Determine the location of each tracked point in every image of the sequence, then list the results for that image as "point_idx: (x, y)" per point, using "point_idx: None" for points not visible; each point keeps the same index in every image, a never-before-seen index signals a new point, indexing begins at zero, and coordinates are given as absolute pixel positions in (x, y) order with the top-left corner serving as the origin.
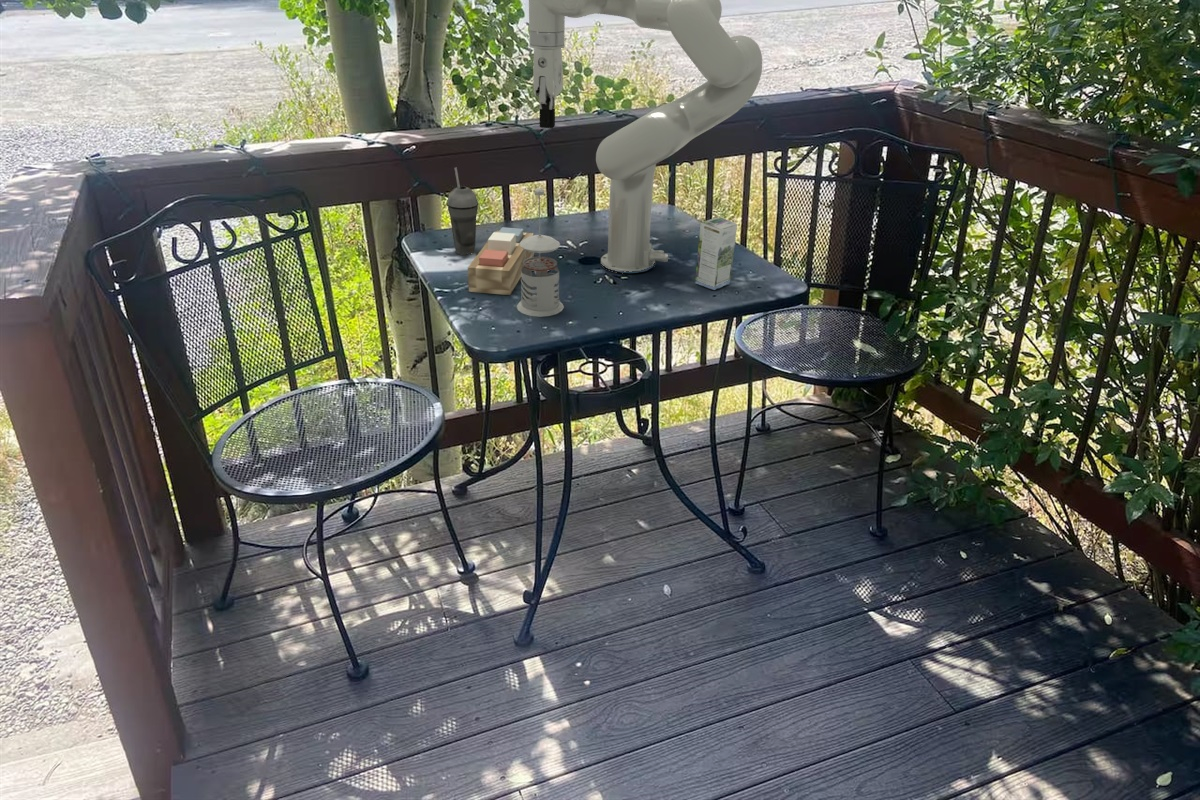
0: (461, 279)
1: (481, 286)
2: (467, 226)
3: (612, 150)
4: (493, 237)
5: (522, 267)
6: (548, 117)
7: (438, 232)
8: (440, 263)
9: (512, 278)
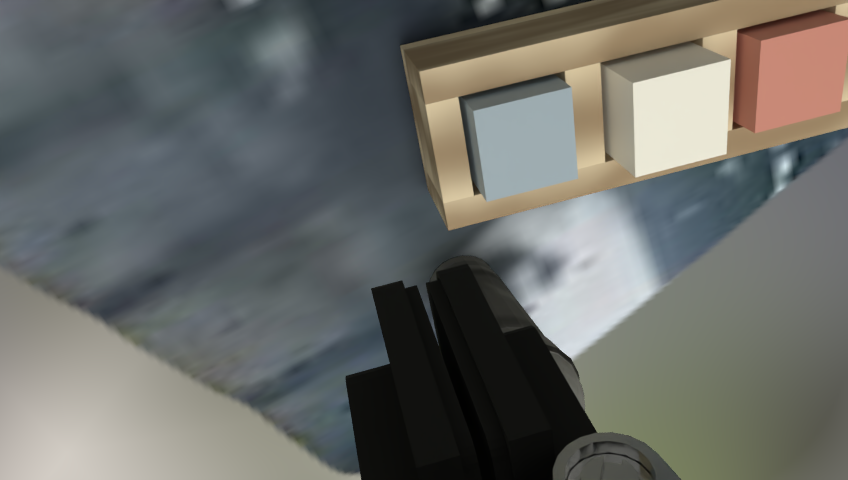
0: (694, 171)
1: None
2: (527, 316)
3: None
4: (699, 146)
5: None
6: (565, 390)
7: (330, 439)
8: (584, 293)
9: None
